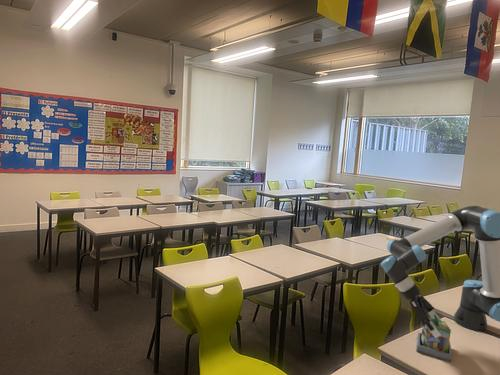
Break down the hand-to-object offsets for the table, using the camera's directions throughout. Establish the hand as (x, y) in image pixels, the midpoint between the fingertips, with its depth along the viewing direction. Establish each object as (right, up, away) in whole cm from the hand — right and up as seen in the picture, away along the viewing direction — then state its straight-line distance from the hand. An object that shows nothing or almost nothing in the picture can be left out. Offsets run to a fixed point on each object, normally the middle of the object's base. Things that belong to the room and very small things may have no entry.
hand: (439, 330), depth 162 cm
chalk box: (-2, -9, +2) cm, 9 cm away
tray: (-2, -9, +2) cm, 10 cm away
